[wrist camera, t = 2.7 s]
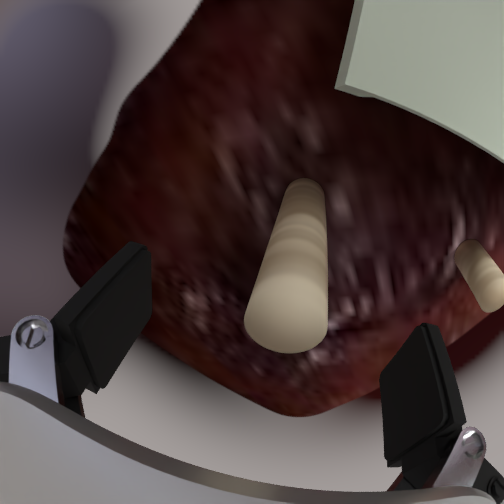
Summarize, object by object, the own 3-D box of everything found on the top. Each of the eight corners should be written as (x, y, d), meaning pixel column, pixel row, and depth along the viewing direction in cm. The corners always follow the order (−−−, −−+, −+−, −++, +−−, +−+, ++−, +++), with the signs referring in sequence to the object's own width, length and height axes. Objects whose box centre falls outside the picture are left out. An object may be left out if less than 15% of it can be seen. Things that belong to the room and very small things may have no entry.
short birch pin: (464, 234, 16) (494, 275, 12) (486, 244, 16) (516, 284, 12) (448, 263, 17) (473, 308, 13) (471, 272, 17) (496, 315, 13)
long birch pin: (290, 173, 17) (252, 283, 8) (329, 184, 17) (340, 307, 8) (280, 209, 18) (237, 340, 9) (318, 220, 18) (310, 360, 9)
